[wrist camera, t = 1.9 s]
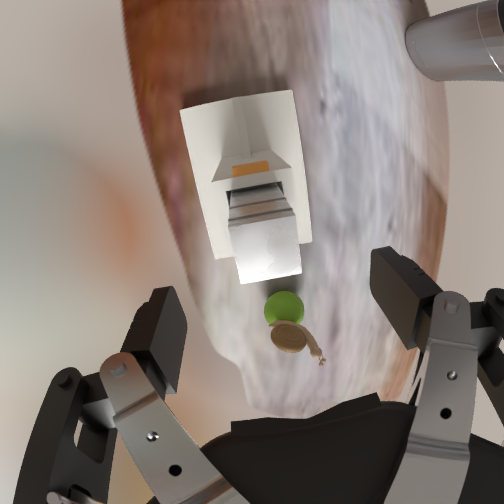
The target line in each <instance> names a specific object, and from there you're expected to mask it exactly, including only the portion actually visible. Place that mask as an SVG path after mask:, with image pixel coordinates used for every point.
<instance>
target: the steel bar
mask: <svg viewBox="0 0 504 504" xmlns="http://www.w3.org/2000/svg"><path fill="white" fill-rule="evenodd" d="M228 230H229V234H230V238H231V243H232V247H233V251H234V256H235V260H236V264H237V269H238V273H239V277H240V281H241V284H246V283H251V282H257V281H263V280H268V279H274V278H279V277H285V276H290V275H296V274H301V273H302V267H301V258H300V249H299V240H298V231H297V223H296V215H295V214H294V212H293V209H292V208H291V207H290V205H289V203H288V202H287V200H286V197H284V195H283V193H282V191H281V190H280V188H279V186H278V185H277V182H273V183H267V184H261V185H256V186H250V187H245V188H239V189H234V190H231V198H230V207H229V219H228Z"/></svg>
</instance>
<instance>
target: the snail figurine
mask: <svg viewBox="0 0 504 504" xmlns="http://www.w3.org/2000/svg"><path fill="white" fill-rule="evenodd" d="M264 315H265V318H266V320H267V322H268V323H269V324H270V325H269V327H271V328H273V329H272V331H271V339H272V342H273V343H274V344H275V346H276V347H278V348H279V349H281V350H283V351H285V352H289V353H296V352H299V351H301V350H302V349H303V348H304V347H305V345H306V344H307V346H308V347H309V349H310V353H311V356H312V357H314V358H319V357H321V355H322V350H321V349H320V348H319V347H318V345H317V342H316V341H315V339H314V337H313V336H312V335H311V333H310V332H309V331H308V330H307V329H306V328H305V327H303V326H301V325H299V323H300V322H301V321H302V319H303V316H304V305H303V302H302V300H301V299H300V298H299V297H298V296H297V295H296V294H295V293H293V292H290V291H279V292H276V293H274V294H273V295H271V296H270V297H269V298H268V300H267V302H266V304H265V307H264ZM322 357H323V356H322ZM319 359H320V358H319ZM325 361H326V359H325V358H323V359H322V360H320V363H319V366H323V363H324V362H325Z"/></svg>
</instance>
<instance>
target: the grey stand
mask: <svg viewBox="0 0 504 504" xmlns="http://www.w3.org/2000/svg"><path fill="white" fill-rule="evenodd" d="M180 114H181V119H182V124H183V129H184V133H185V138H186V142H187V147H188V151H189V156H190V160H191V164H192V169H193V173H194V177H195V182H196V186H197V190H198V194H199V198H200V202H201V206H202V210H203V214H204V218H205V222H206V226H207V230H208V234H209V238H210V242H211V245H212V249H213V253H214V257H215V259H220V258H225V257H231V256H234V251H233V247H232V243H231V238H230V234H229V230H228V219H229V207H230V198H231V190H234V189H239V188H245V187H250V186H256V185H261V184H267V183H273V182H277V185H278V186H279V188H280V190H281V191H282V193H283V195H284V197H286V200H287V202H288V203H289V205H290V207H291V208H292V209H293V212H294V214H295V215H296V223H297V231H298V240H299V244H303V243H309V242H312V231H311V221H310V211H309V202H308V193H307V185H306V177H305V169H304V162H303V154H302V147H301V141H300V134H299V128H298V121H297V115H296V109H295V103H294V98H293V92H292V90H285V91H276V92H269V93H261V94H255V95H248V96H242V97H240V96H239V97H233V98H231V99H226V100H221V101H216V102H212V103H207V104H203V105H198V106H194V107H190V108H186V109H182V110H180Z"/></svg>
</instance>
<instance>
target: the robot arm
mask: <svg viewBox="0 0 504 504" xmlns="http://www.w3.org/2000/svg"><path fill="white" fill-rule="evenodd" d="M406 46H407V50H408V53H409V55H410V57H411V59H412V61H413V63H414V64H415V65H416V67H417V68H418V69H419V70H420V71H421V72H422V73H423V74H424V75H426V76H427V77H428V78H430V79H432V80H436V81H463V80H476V81H479V80H480V81H504V0H487V1H483V2H479V3H475V4H471V5H467V6H464V7H460V8H457V9H454V10H450V11H447V12H444V13H441V14H438V15H435V16H432V17H429V18H426V19H423V20H421V21H418V22H416V23H413V24H411V25H410V26H409V27H408V30H407V32H406ZM370 289H371V293H372V295H373V297H374V299H375V300H376V302H377V303H378V305H379V306H380V308H381V309H382V311H383V312H384V314H385V315H386V317H387V318H388V320H389V322H390V323H391V325H392V326H393V328H394V329H395V331H396V333H397V334H398V336H399V337H400V339H401V341H402V342H403V344H404V346H405V347H406V349H407V350H409V349H412V348H415V347H418V348H419V349H420V352H419V355H418V359H417V363H416V367H415V372H414V375H413V379H412V383H411V387H410V391H409V394H408V397H407V400H406V403H402V402H396V401H380V399H379V397H378V394H377V392H376V393H372V394H369V395H366V396H363V397H359V398H356V399H352V400H349V401H345V402H342V403H340V404H338V405H336V406H334V407H332V408H330V409H328V410H326V411H324V412H322V413H319V414H317V415H315V416H313V417H310V418H307V419H290V418H270V417H267V418H259V419H251V420H243V421H232V422H231V432H228V433H225V434H223V435H220V436H218V437H216V438H215V439H213V440H211V441H209V442H208V443H206V444H205V445H204V446H203V447H201V448H200V447H199V446H198V444H197V443H196V442H195V441H194V440H193V438H192V437H191V436H190V435H189V434H188V432H187V431H186V430H185V429H184V427H183V426H182V425H181V424H180V422H179V421H178V419H177V418H176V417H175V415H174V414H173V413H172V411H171V410H170V409H169V407H168V406H167V404H166V403H165V402H164V400H165V394H176V392H177V386H178V379H179V373H180V368H181V362H182V356H183V350H184V345H185V339H186V333H187V321H186V317H185V314H184V311H183V309H182V307H181V304H180V301H179V299H178V296H177V293H176V291H175V289H174V287H173V286H168V287H162V288H156V289H154V290H153V292H152V295H151V297H150V300H149V302H145V303H144V304H143V305H142V306H141V307H140V308H139V309H138V310H137V312H136V314H135V316H134V319H133V322H132V323H131V326H130V329H129V331H128V333H127V336H126V338H125V340H124V343H123V345H122V348H121V350H120V353H117V354H114V355H112V356H110V357H109V358H107V359H106V360H105V361H104V363H103V364H102V365H101V367H100V371H99V372H97V373H94V374H90V375H87V376H82V375H81V373H80V372H79V371H78V370H77V369H76V368H73V367H68V368H65V369H63V370H61V371H60V372H58V373H57V374H56V375H55V376H54V378H53V379H52V381H51V384H50V386H49V388H48V391H47V393H46V396H45V398H44V401H43V403H42V406H41V408H40V411H39V414H38V416H37V419H36V422H35V424H34V427H33V430H32V433H31V436H30V439H29V442H28V445H27V449H26V452H25V455H24V459H23V463H22V466H21V470H20V474H19V478H18V482H17V486H16V491H15V496H14V501H13V504H107V500H108V490H109V481H110V475H111V468H112V461H113V454H114V449H115V442H116V437H117V431H118V432H119V434H120V436H121V438H122V440H123V442H124V444H125V446H126V448H127V449H128V452H129V453H130V455H131V457H132V459H133V461H134V462H135V464H136V466H137V468H138V469H139V471H140V473H141V474H142V476H143V478H144V479H145V481H146V483H147V484H148V486H149V487H150V489H151V490H152V492H153V493H154V495H155V496H154V497H153V498H152V499H151V500H150V501H149V502H148V503H147V504H504V440H503V442H502V444H501V446H500V445H498V444H495V443H493V442H490V441H488V440H486V439H484V438H481V437H479V436H476V435H474V434H472V433H471V426H472V420H473V413H474V404H475V395H476V383H477V377H478V378H479V380H480V382H481V384H482V385H483V387H484V389H485V391H486V393H487V394H488V396H489V398H490V400H491V402H492V404H493V406H494V408H495V410H496V412H497V414H498V416H499V418H500V420H501V422H502V424H503V426H504V354H503V353H502V351H501V350H500V348H499V347H498V346H499V344H500V342H501V340H502V338H503V339H504V289H500V288H492V289H490V290H488V292H487V293H486V296H485V299H484V301H482V302H470V303H469V301H468V300H467V299H466V298H465V297H464V296H463V295H461V294H459V293H457V292H453V291H443V290H442V289H441V288H440V287H439V286H438V285H437V284H436V283H435V282H434V281H433V280H432V279H431V278H430V277H429V276H428V275H427V274H425V272H424V271H423V270H422V269H420V267H419V266H418V265H417V264H416V263H415V262H414V261H413V260H411V259H409V258H407V257H405V256H403V255H402V256H400V255H399V254H398V253H397V252H396V251H395V250H394V249H393V248H392V247H390V246H387V247H382V248H377V249H373V250H372V252H371V265H370ZM78 420H80V421H81V422H82V423H83V425H82V429H81V432H80V436H79V440H78V444H77V447H76V446H75V443H74V433H75V430H76V426H77V423H78Z"/></svg>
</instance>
